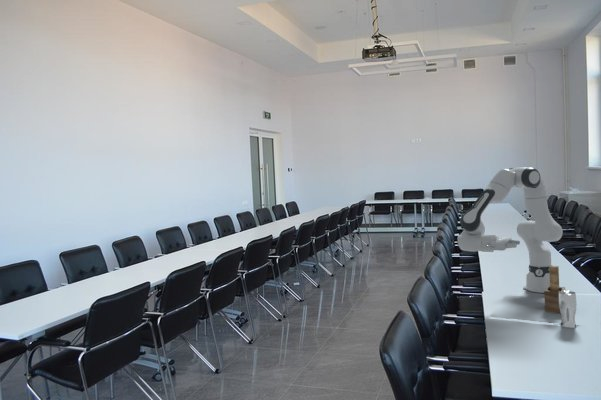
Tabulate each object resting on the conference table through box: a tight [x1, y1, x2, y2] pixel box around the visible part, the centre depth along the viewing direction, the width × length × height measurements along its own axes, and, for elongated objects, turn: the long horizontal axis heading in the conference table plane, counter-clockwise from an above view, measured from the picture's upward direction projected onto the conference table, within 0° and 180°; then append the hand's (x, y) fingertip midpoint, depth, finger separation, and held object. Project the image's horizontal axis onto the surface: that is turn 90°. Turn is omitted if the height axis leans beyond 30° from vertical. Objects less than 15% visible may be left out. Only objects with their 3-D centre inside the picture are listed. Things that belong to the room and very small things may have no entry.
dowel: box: [549, 265, 560, 291], centre depth 236 cm, size 4×4×16 cm
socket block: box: [543, 286, 566, 314], centre depth 236 cm, size 10×8×10 cm
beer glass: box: [559, 290, 578, 329], centre depth 216 cm, size 7×7×15 cm
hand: (518, 244), depth 247 cm, fingers open, 8 cm apart
